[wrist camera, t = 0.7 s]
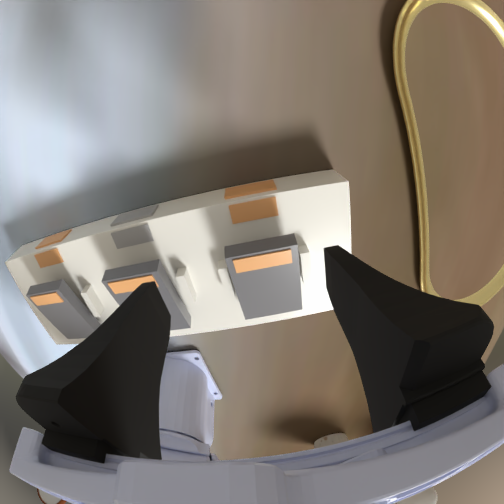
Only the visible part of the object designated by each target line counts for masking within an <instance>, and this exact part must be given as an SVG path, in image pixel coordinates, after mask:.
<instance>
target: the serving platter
mask: <svg viewBox="0 0 504 504" xmlns="http://www.w3.org/2000/svg"><path fill="white" fill-rule="evenodd" d="M436 3H451V4H455V5H458V6H461V7H463V8H465V9H467V10H469V11H471V12H472V13H474V14H475V15H476V16H478V17H479V18H480V19H481V20H482V21H483V22H484V23H485V24H487V26H488V27H489V28H490V29H491V30H492V31H493V33H494V34H495V35H496V37H497V38H498V40H499V41H500V43H501V44H502V46H503V48H504V23H503V22H502V20H501V19H500V18H499V17H498V16H497V15H496V13H495V12H494V11H493V10H492V9H491V8H490V7H488V6H487V5H486V4H485V3H484V2H483V1H481V0H406V2H405V3H404V5H403V6H402V8H401V10H400V12H399V15H398V17H397V21H396V24H395V29H394V35H393V68H394V75H395V82H396V87H397V92H398V96H399V100H400V104H401V108H402V112H403V116H404V121H405V126H406V131H407V136H408V141H409V147H410V152H411V159H412V165H413V172H414V180H415V188H416V198H417V209H418V223H419V244H420V289H421V291H422V292H425V293H428V294H431V295H434V296H438V297H440V296H439V295H438V294H437V293H436V292H435V290H434V289H433V287H432V284H431V281H430V276H429V223H428V205H427V193H426V183H425V174H424V166H423V159H422V152H421V146H420V140H419V134H418V129H417V124H416V119H415V114H414V110H413V105H412V101H411V97H410V93H409V89H408V84H407V78H406V70H405V46H406V40H407V35H408V32H409V29H410V26H411V24H412V22H413V20H414V18H415V17H416V16H417V15H418V13H419V12H420V11H422V10H423V9H424V8H426V7H427V6H430V5H432V4H436ZM412 5H413V6H412ZM405 16H406V17H405ZM399 37H400V38H399ZM398 60H399V61H398ZM409 119H410V120H409ZM412 134H413V135H412ZM418 172H419V173H418ZM423 233H424V234H423ZM503 286H504V265H503V266H502V268H501V269H500V270H499V272H498V273H497V274H496V275H495V277H494V278H493V279H492V280H491V281H490V282H489V283H488V284H487V285H486V286H484V287H483V288H482V289H481V290H479V291H478V292H476V293H475V294H473V295H471V296H469V297H466V298H463V299H459V300H454V301H459V302H465V303H471V304H477V305H479V306H480V307H481V306H483V305H484V304H485V303H487V302H488V301H489V300H490V299H491V298H492V297H493V296H495V295H496V294H497V293H498V291H499V290H500V289H501V288H502V287H503ZM441 298H442V297H441Z"/></svg>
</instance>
